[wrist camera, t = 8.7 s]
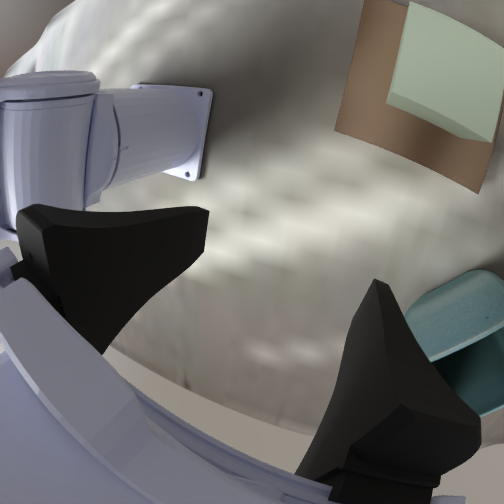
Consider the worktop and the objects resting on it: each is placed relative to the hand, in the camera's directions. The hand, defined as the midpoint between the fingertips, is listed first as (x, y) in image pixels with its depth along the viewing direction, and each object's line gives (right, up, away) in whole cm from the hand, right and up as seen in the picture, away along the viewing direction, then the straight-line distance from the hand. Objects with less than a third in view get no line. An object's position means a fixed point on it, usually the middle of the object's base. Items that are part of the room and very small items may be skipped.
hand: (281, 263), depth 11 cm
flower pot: (+16, -4, +7) cm, 18 cm away
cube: (+9, +10, 0) cm, 14 cm away
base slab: (+10, +11, +2) cm, 15 cm away
